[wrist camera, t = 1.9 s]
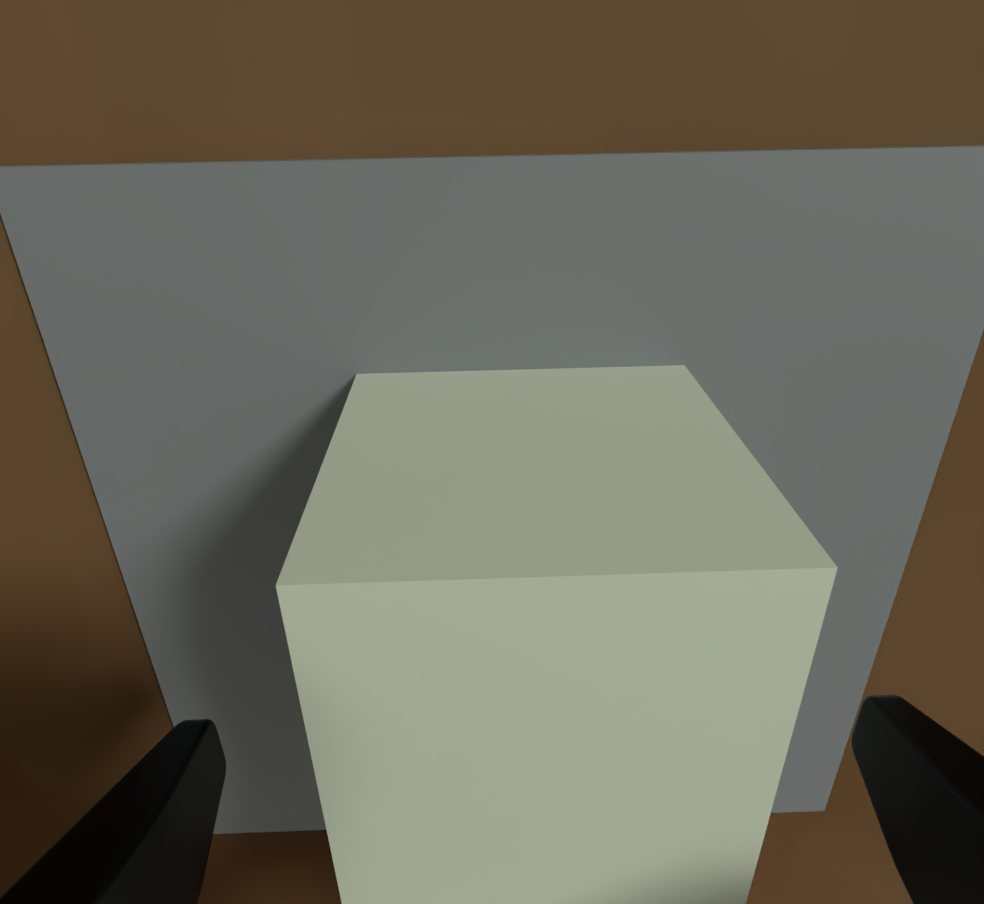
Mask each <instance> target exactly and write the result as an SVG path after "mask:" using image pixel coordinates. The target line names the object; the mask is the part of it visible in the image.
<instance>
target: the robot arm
mask: <svg viewBox="0 0 984 904" xmlns="http://www.w3.org/2000/svg"><path fill="white" fill-rule="evenodd" d="M852 748H853V752H854V756H855V758H856V761H857V764H858V766H859V769H860V772H861V775H862V777H863V780H864V783H865V785H866V788H867V791H868V794H869V796H870V799H871V802H872V804H873V807H874V810H875V813H876V815H877V818H878V821H879V823H880V826H881V829H882V832H883V834H884V837H885V840H886V842H887V845H888V848H889V850H890V853H891V855H892V858H893V860H894V863H895V865H896V867H897V870H898V872H899V874H900V876H901V878H902V881H903V883H904V885H905V887H906V889H907V891H908V893H909V895H910V897H911V900H912V902H913V904H984V756H982V755H981V754H980V753H978V752H977V751H975V750H974V749H973V748H971V747H970V746H968V745H967V744H966V743H964V742H963V741H962V740H960V739H959V738H957V737H956V736H955V735H953V734H952V733H950V732H949V731H948V730H946V729H945V728H943V727H942V726H941V725H939V724H938V723H937V722H935V721H934V720H932V719H931V718H930V717H928V716H927V715H925V714H924V713H923V712H921V711H920V710H918V709H917V708H916V707H914V706H913V705H912V704H910V703H909V702H907V701H906V700H904V699H903V698H901V697H899V696H896V695H872V696H868V697H867V698H866V699H865V700H864V701H863V703H862V706H861V709H860V712H859V715H858V718H857V721H856V724H855V727H854V730H853V734H852ZM225 775H226V759H225V755H224V751H223V748H222V744H221V741H220V738H219V734H218V731H217V728H216V725H215V723H214V722H213V721H212V720H210V719H195V720H184V721H182V722H180V723H178V724H177V725H176V726H175V727H174V728H173V729H172V730H171V731H170V732H169V733H168V734H167V735H166V736H165V737H164V738H163V739H162V740H161V741H160V742H159V743H158V744H157V745H156V746H155V747H153V748H152V749H151V750H150V751H149V752H148V753H147V754H146V755H145V756H144V757H143V758H142V759H141V760H140V761H139V762H138V763H137V764H136V765H135V766H134V767H133V768H132V769H131V770H130V771H129V772H128V773H127V774H126V775H125V776H124V777H123V778H122V779H121V780H120V781H119V782H118V783H117V784H116V785H115V786H114V787H113V788H112V789H111V790H110V791H109V792H108V793H107V794H106V795H105V796H104V797H103V798H102V799H101V800H100V801H99V802H97V803H96V804H95V805H94V806H93V807H92V808H91V809H90V810H89V811H88V812H87V813H86V814H85V815H84V816H83V817H82V818H81V819H80V820H79V821H78V822H77V823H76V824H75V825H74V826H73V827H72V828H71V829H70V830H69V831H68V832H67V833H66V834H65V835H64V836H63V837H62V838H61V839H60V840H59V841H58V842H57V843H56V844H55V845H54V846H53V847H52V848H51V849H50V850H49V851H48V852H47V853H46V854H45V855H44V856H43V857H41V858H40V859H39V860H38V861H37V862H36V863H35V864H34V865H33V866H32V867H31V868H30V869H29V870H28V871H27V872H26V873H25V874H24V875H23V876H22V877H21V878H20V879H19V880H18V881H17V882H16V883H15V884H14V885H13V886H12V887H11V888H10V889H9V890H8V891H7V892H6V893H5V894H4V895H3V896H2V897H1V898H0V904H197V902H198V898H199V895H200V891H201V887H202V883H203V878H204V874H205V870H206V865H207V860H208V855H209V851H210V846H211V841H212V837H213V832H214V827H215V823H216V818H217V813H218V808H219V804H220V799H221V794H222V790H223V785H224V780H225Z"/></svg>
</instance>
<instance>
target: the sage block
mask: <svg viewBox="0 0 984 904" xmlns="http://www.w3.org/2000/svg"><path fill="white" fill-rule="evenodd" d="M837 569H838V567H837V566H836V565H835V563H834V562H833V561H832V559H831V558H830V557H829V555H828V554H827V553H826V551H825V550H824V549H823V547H822V546H821V545H820V543H819V542H818V541H817V539H816V538H815V537H814V535H813V534H812V533H811V532H810V530H809V529H808V528H807V526H806V525H805V524H804V522H803V521H802V520H801V518H800V517H799V516H798V514H797V513H796V512H795V510H794V509H793V508H792V506H791V505H790V504H789V502H788V501H787V500H786V499H785V497H784V496H783V495H782V493H781V492H780V491H779V489H778V488H777V487H776V485H775V484H774V483H773V481H772V480H771V479H770V477H769V476H768V475H767V473H766V472H765V471H764V469H763V468H762V467H761V466H760V464H759V463H758V462H757V460H756V459H755V458H754V456H753V455H752V454H751V452H750V451H749V450H748V448H747V447H746V446H745V444H744V443H743V442H742V440H741V439H740V438H739V436H738V435H737V434H736V433H735V431H734V430H733V429H732V427H731V426H730V425H729V423H728V422H727V421H726V419H725V418H724V417H723V415H722V414H721V413H720V411H719V410H718V409H717V407H716V406H715V405H714V403H713V402H712V401H711V399H710V398H709V397H708V396H707V394H706V393H705V392H704V390H703V389H702V388H701V386H700V385H699V384H698V382H697V381H696V380H695V378H694V377H693V376H692V374H691V373H690V372H689V370H688V369H687V368H686V366H685V365H669V366H631V367H593V368H556V369H518V370H480V371H442V372H405V373H367V374H356V377H355V379H354V382H353V384H352V387H351V390H350V392H349V395H348V398H347V400H346V403H345V405H344V408H343V411H342V413H341V416H340V418H339V421H338V424H337V426H336V429H335V432H334V434H333V437H332V439H331V442H330V445H329V447H328V450H327V452H326V455H325V458H324V460H323V463H322V465H321V468H320V471H319V473H318V476H317V479H316V481H315V484H314V486H313V489H312V492H311V494H310V497H309V499H308V502H307V505H306V507H305V510H304V513H303V515H302V518H301V520H300V523H299V526H298V528H297V531H296V533H295V536H294V539H293V541H292V544H291V546H290V549H289V552H288V554H287V557H286V560H285V562H284V565H283V567H282V570H281V573H280V575H279V578H278V580H277V583H276V590H277V595H278V599H279V604H280V609H281V614H282V619H283V623H284V628H285V633H286V638H287V643H288V648H289V652H290V657H291V662H292V667H293V672H294V676H295V681H296V686H297V691H298V696H299V700H300V705H301V710H302V715H303V720H304V724H305V729H306V734H307V739H308V744H309V748H310V753H311V758H312V763H313V768H314V772H315V777H316V782H317V787H318V792H319V796H320V801H321V806H322V811H323V816H324V820H325V825H326V830H327V835H328V840H329V844H330V849H331V854H332V859H333V864H334V868H335V873H336V878H337V883H338V888H339V893H340V897H341V902H342V904H746V901H747V898H748V894H749V890H750V887H751V883H752V879H753V876H754V872H755V868H756V865H757V861H758V857H759V854H760V850H761V846H762V843H763V839H764V835H765V832H766V828H767V824H768V821H769V817H770V813H771V810H772V806H773V802H774V799H775V795H776V791H777V788H778V784H779V781H780V777H781V773H782V770H783V766H784V762H785V759H786V755H787V751H788V748H789V744H790V740H791V737H792V733H793V729H794V726H795V722H796V718H797V715H798V711H799V707H800V704H801V700H802V696H803V693H804V689H805V685H806V682H807V678H808V675H809V671H810V667H811V664H812V660H813V656H814V653H815V649H816V645H817V642H818V638H819V634H820V631H821V627H822V623H823V620H824V616H825V612H826V609H827V605H828V601H829V598H830V594H831V590H832V587H833V583H834V579H835V576H836V572H837Z"/></svg>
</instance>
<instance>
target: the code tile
mask: <svg viewBox="0 0 984 904" xmlns="http://www.w3.org/2000/svg"><path fill="white" fill-rule="evenodd" d="M0 214H1V217H2V220H3V223H4V226H5V229H6V232H7V235H8V238H9V241H10V244H11V247H12V250H13V253H14V256H15V258H16V261H17V264H18V267H19V270H20V273H21V276H22V279H23V282H24V285H25V288H26V291H27V294H28V297H29V300H30V303H31V306H32V309H33V312H34V315H35V318H36V321H37V324H38V327H39V330H40V333H41V335H42V338H43V341H44V344H45V347H46V350H47V353H48V356H49V359H50V362H51V365H52V368H53V371H54V374H55V377H56V380H57V383H58V386H59V389H60V392H61V395H62V398H63V401H64V404H65V407H66V410H67V413H68V415H69V418H70V421H71V424H72V427H73V430H74V433H75V436H76V439H77V442H78V445H79V448H80V451H81V454H82V457H83V460H84V463H85V466H86V469H87V472H88V475H89V478H90V481H91V484H92V487H93V490H94V492H95V495H96V498H97V501H98V504H99V507H100V510H101V513H102V516H103V519H104V522H105V525H106V528H107V531H108V534H109V537H110V540H111V543H112V546H113V549H114V552H115V555H116V558H117V561H118V564H119V567H120V570H121V572H122V575H123V578H124V581H125V584H126V587H127V590H128V593H129V596H130V599H131V602H132V605H133V608H134V611H135V614H136V617H137V620H138V623H139V626H140V629H141V632H142V635H143V638H144V641H145V644H146V647H147V650H148V652H149V655H150V658H151V661H152V664H153V667H154V670H155V673H156V676H157V679H158V682H159V685H160V688H161V691H162V694H163V697H164V700H165V703H166V706H167V709H168V712H169V715H170V718H171V721H172V724H173V727H175V726H176V725H177V724H178V723H180V722H182V721H184V720H195V719H210V720H212V721H213V722H214V723H215V725H216V728H217V731H218V734H219V738H220V741H221V744H222V748H223V751H224V755H225V759H226V775H225V780H224V785H223V790H222V794H221V799H220V804H219V808H218V813H217V818H216V823H215V827H214V832H213V834H229V833H256V832H282V831H308V830H326V825H325V820H324V816H323V811H322V806H321V801H320V796H319V792H318V787H317V782H316V777H315V772H314V768H313V763H312V758H311V753H310V748H309V744H308V739H307V734H306V729H305V724H304V720H303V715H302V710H301V705H300V700H299V696H298V691H297V686H296V681H295V676H294V672H293V667H292V662H291V657H290V652H289V648H288V643H287V638H286V633H285V628H284V623H283V619H282V614H281V609H280V604H279V599H278V595H277V590H276V583H277V580H278V578H279V575H280V573H281V570H282V567H283V565H284V562H285V560H286V557H287V554H288V552H289V549H290V546H291V544H292V541H293V539H294V536H295V533H296V531H297V528H298V526H299V523H300V520H301V518H302V515H303V513H304V510H305V507H306V505H307V502H308V499H309V497H310V494H311V492H312V489H313V486H314V484H315V481H316V479H317V476H318V473H319V471H320V468H321V465H322V463H323V460H324V458H325V455H326V452H327V450H328V447H329V445H330V442H331V439H332V437H333V434H334V432H335V429H336V426H337V424H338V421H339V418H340V416H341V413H342V411H343V408H344V405H345V403H346V400H347V398H348V395H349V392H350V390H351V387H352V384H353V382H354V379H355V377H356V374H367V373H405V372H442V371H480V370H518V369H556V368H593V367H631V366H669V365H685V366H686V368H687V369H688V370H689V372H690V373H691V374H692V376H693V377H694V378H695V380H696V381H697V382H698V384H699V385H700V386H701V388H702V389H703V390H704V392H705V393H706V394H707V396H708V397H709V398H710V399H711V401H712V402H713V403H714V405H715V406H716V407H717V409H718V410H719V411H720V413H721V414H722V415H723V417H724V418H725V419H726V421H727V422H728V423H729V425H730V426H731V427H732V429H733V430H734V431H735V433H736V434H737V435H738V436H739V438H740V439H741V440H742V442H743V443H744V444H745V446H746V447H747V448H748V450H749V451H750V452H751V454H752V455H753V456H754V458H755V459H756V460H757V462H758V463H759V464H760V466H761V467H762V468H763V469H764V471H765V472H766V473H767V475H768V476H769V477H770V479H771V480H772V481H773V483H774V484H775V485H776V487H777V488H778V489H779V491H780V492H781V493H782V495H783V496H784V497H785V499H786V500H787V501H788V502H789V504H790V505H791V506H792V508H793V509H794V510H795V512H796V513H797V514H798V516H799V517H800V518H801V520H802V521H803V522H804V524H805V525H806V526H807V528H808V529H809V530H810V532H811V533H812V534H813V535H814V537H815V538H816V539H817V541H818V542H819V543H820V545H821V546H822V547H823V549H824V550H825V551H826V553H827V554H828V555H829V557H830V558H831V559H832V561H833V562H834V563H835V565H836V566H837V567H838V569H837V572H836V576H835V579H834V583H833V587H832V590H831V594H830V598H829V601H828V605H827V609H826V612H825V616H824V620H823V623H822V627H821V631H820V634H819V638H818V642H817V645H816V649H815V653H814V656H813V660H812V664H811V667H810V671H809V675H808V678H807V682H806V685H805V689H804V693H803V696H802V700H801V704H800V707H799V711H798V715H797V718H796V722H795V726H794V729H793V733H792V737H791V740H790V744H789V748H788V751H787V755H786V759H785V762H784V766H783V770H782V773H781V777H780V781H779V784H778V788H777V791H776V795H775V799H774V802H773V806H772V810H771V813H778V812H804V811H824V810H825V807H826V804H827V801H828V798H829V795H830V792H831V789H832V786H833V783H834V780H835V777H836V774H837V771H838V768H839V765H840V762H841V759H842V756H843V753H844V750H845V747H846V744H847V741H848V738H849V735H850V732H851V729H852V726H853V723H854V720H855V717H856V714H857V711H858V708H859V705H860V702H861V698H862V695H863V692H864V689H865V686H866V683H867V680H868V677H869V674H870V671H871V668H872V665H873V662H874V659H875V656H876V653H877V650H878V647H879V644H880V641H881V638H882V635H883V632H884V629H885V626H886V623H887V620H888V617H889V614H890V611H891V608H892V605H893V602H894V599H895V596H896V593H897V590H898V587H899V584H900V581H901V578H902V574H903V571H904V568H905V565H906V562H907V559H908V556H909V553H910V550H911V547H912V544H913V541H914V538H915V535H916V532H917V529H918V526H919V523H920V520H921V517H922V514H923V511H924V508H925V505H926V502H927V499H928V496H929V493H930V490H931V487H932V484H933V481H934V478H935V475H936V472H937V469H938V466H939V463H940V460H941V457H942V453H943V450H944V447H945V444H946V441H947V438H948V435H949V432H950V429H951V426H952V423H953V420H954V417H955V414H956V411H957V408H958V405H959V402H960V399H961V396H962V393H963V390H964V387H965V384H966V381H967V378H968V375H969V372H970V369H971V366H972V363H973V360H974V357H975V354H976V351H977V348H978V345H979V342H980V339H981V336H982V333H983V329H984V145H974V146H927V147H879V148H831V149H783V150H735V151H687V152H639V153H591V154H543V155H496V156H448V157H400V158H352V159H304V160H256V161H208V162H160V163H112V164H65V165H17V166H0Z"/></svg>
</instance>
